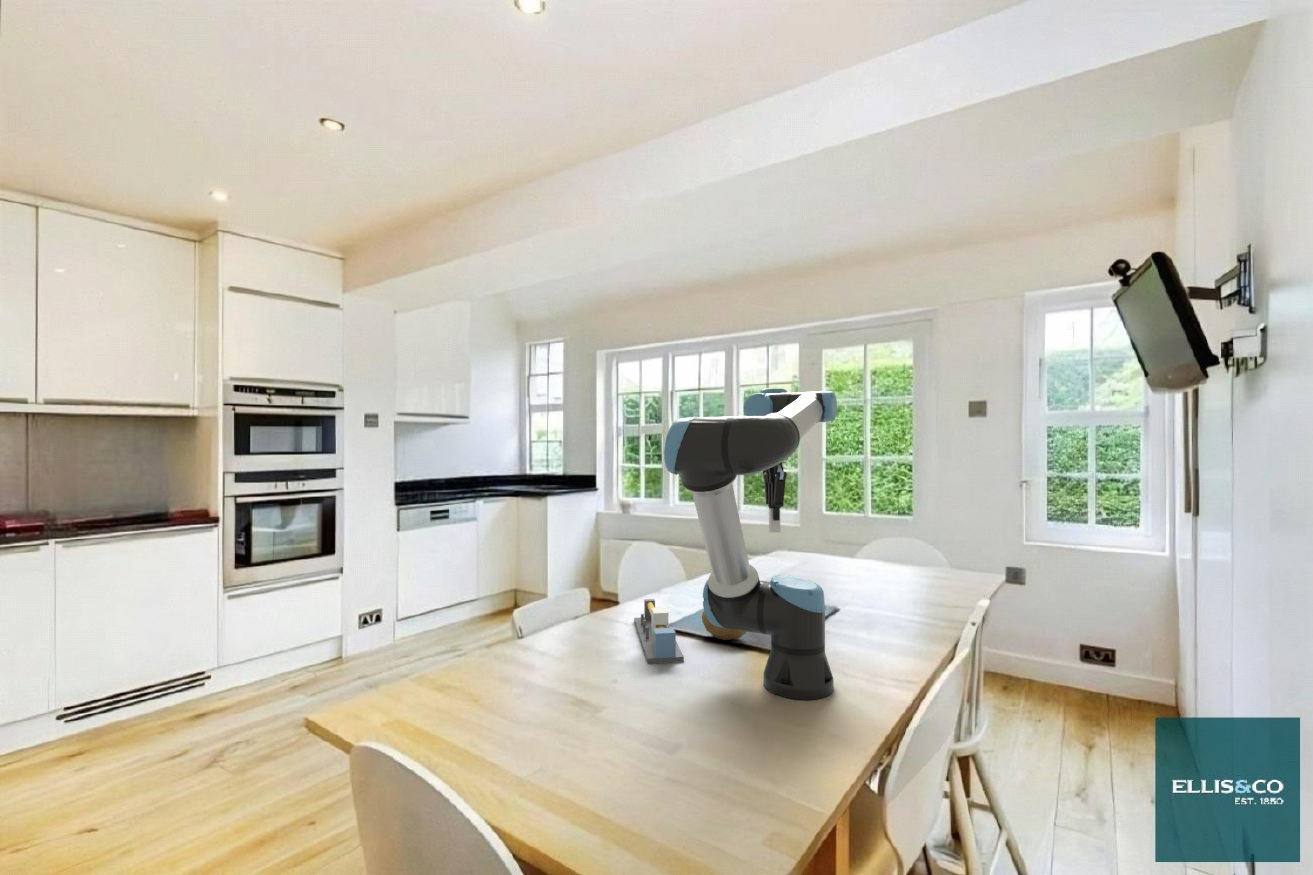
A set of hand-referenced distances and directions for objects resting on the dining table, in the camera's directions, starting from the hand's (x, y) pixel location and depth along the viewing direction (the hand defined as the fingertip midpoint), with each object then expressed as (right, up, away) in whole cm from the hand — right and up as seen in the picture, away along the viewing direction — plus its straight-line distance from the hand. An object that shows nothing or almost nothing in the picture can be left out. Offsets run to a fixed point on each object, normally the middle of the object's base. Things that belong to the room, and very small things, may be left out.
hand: (774, 531), depth 164 cm
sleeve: (-31, -26, -6) cm, 41 cm away
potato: (-13, -30, +1) cm, 33 cm away
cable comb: (-32, -30, +1) cm, 44 cm away
